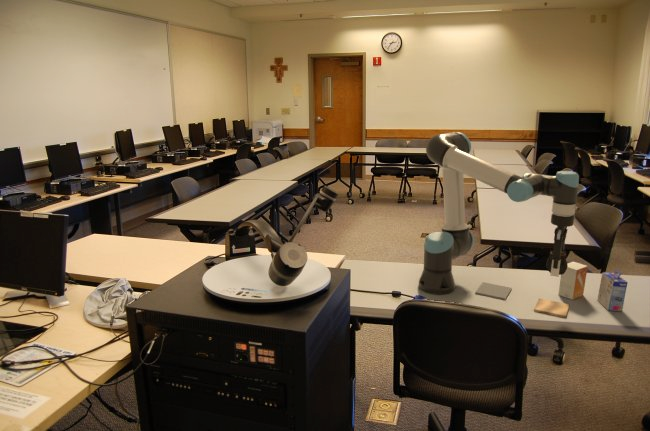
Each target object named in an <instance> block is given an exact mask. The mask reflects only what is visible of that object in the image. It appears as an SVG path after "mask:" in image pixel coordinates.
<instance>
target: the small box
mask: <svg viewBox="0 0 650 431" xmlns="http://www.w3.org/2000/svg"><path fill="white" fill-rule="evenodd" d="M567 265H568V266H567V270H566V272H565V273H564V274H563V275H560V278H559V279H560V282H559V288H558V295H559V296H561V297H563V298H566V299H569V300H572V301H573V300H576V299H577V298H580V297H583V295H584V293H585V292H584V291H585V286H586V279H587V273H588V265H586V264H583V263H580V262H577V261H571V262H567Z"/></svg>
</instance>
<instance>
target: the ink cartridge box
mask: <svg viewBox="0 0 650 431" xmlns="http://www.w3.org/2000/svg"><path fill="white" fill-rule="evenodd" d="M622 274H623V273H622V272H621V271H620V270H618V269H616V270H615V271H614V272H607V271H606V272H605V271H603V272H602V273H601V279H600V283H599V289H598V294H597V301H598V302H599V303H600V304H601V305H602V306H603V307H604V308H605V309H606V310H607V311H611V312H612V311H613V312H623V309H624V308H623V307H624V303H625V298H626V297H625V296H626V293H627V288H628V287H627V286H628V281H627V280H625V279H624V278H623V277H622V276H621V275H622Z"/></svg>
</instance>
